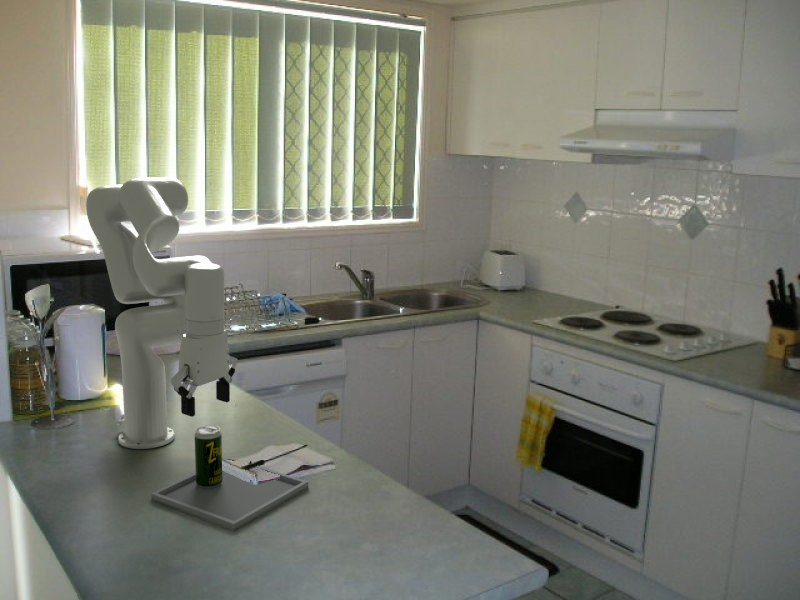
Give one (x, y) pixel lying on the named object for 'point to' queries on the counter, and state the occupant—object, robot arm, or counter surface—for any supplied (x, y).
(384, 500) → the counter surface
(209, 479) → the beer can
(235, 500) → the grey rimmed serving tray
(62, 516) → the counter surface
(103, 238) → the robot arm
